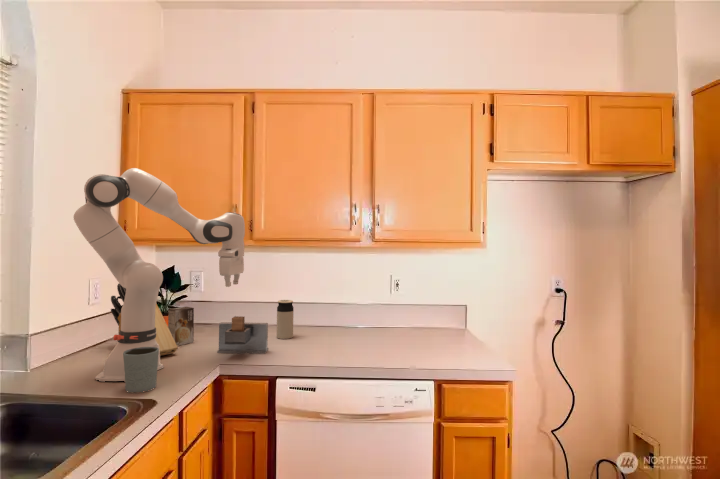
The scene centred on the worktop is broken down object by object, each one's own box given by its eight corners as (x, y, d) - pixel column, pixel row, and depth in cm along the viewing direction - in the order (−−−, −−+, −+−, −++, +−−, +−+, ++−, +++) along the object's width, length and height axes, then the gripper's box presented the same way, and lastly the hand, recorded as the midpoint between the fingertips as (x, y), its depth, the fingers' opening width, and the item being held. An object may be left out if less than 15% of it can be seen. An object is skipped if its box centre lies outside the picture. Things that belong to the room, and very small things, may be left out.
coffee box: (186, 340, 189) (187, 306, 190) (193, 342, 186) (194, 307, 186) (167, 344, 182) (168, 308, 182) (174, 346, 178) (175, 310, 178)
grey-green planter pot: (138, 396, 121) (138, 356, 121) (114, 391, 125) (115, 352, 125) (165, 385, 131) (166, 348, 131) (142, 380, 135) (143, 344, 135)
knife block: (133, 342, 185) (134, 274, 185) (178, 354, 165) (179, 279, 166) (106, 347, 175) (108, 276, 175) (151, 361, 156) (153, 281, 156)
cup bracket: (259, 359, 160) (260, 329, 160) (209, 359, 160) (209, 328, 160) (268, 349, 175) (268, 322, 175) (222, 349, 175) (222, 321, 175)
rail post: (241, 340, 162) (241, 318, 162) (231, 340, 162) (231, 318, 162) (244, 338, 166) (244, 316, 166) (234, 338, 166) (234, 316, 166)
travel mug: (277, 339, 193) (277, 302, 193) (275, 336, 201) (276, 299, 201) (293, 338, 195) (294, 301, 195) (292, 335, 203) (292, 299, 203)
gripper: (233, 251, 177) (232, 282, 177) (216, 252, 157) (215, 287, 156) (247, 251, 177) (246, 283, 177) (232, 252, 157) (231, 288, 156)
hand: (232, 285), depth 166 cm, fingers open, 8 cm apart
